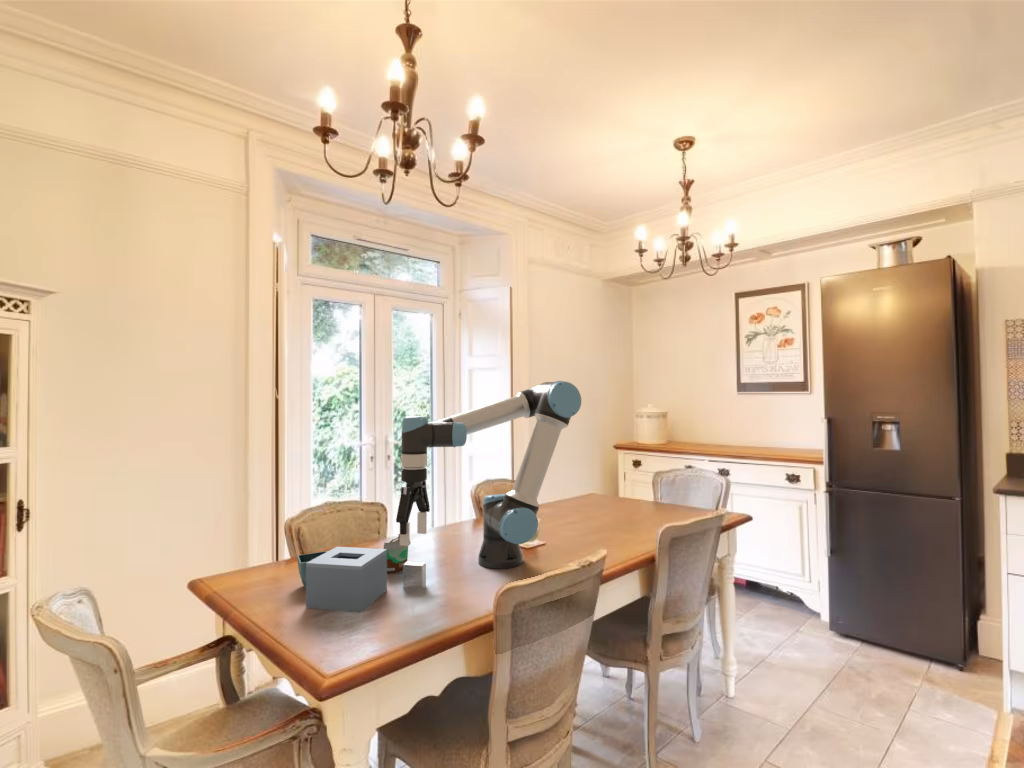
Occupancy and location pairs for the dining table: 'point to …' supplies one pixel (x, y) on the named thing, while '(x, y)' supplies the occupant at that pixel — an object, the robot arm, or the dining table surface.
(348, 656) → the dining table surface
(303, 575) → the flower pot
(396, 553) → the food container
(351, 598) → the coin box
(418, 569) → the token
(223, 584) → the dining table surface
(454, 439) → the robot arm
